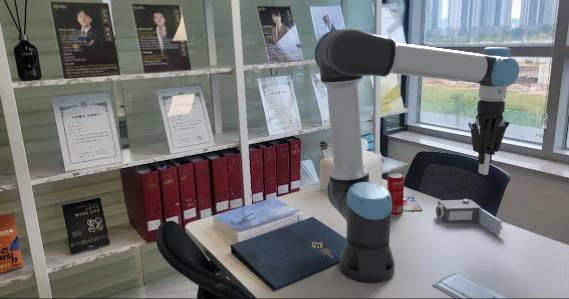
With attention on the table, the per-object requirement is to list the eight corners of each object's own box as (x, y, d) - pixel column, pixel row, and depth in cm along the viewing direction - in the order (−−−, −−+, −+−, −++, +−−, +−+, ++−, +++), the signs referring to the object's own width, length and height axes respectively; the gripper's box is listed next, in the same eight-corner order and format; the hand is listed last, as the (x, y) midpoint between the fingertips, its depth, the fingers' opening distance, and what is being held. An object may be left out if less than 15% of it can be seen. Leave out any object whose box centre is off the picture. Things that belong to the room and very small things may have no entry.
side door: (501, 235, 138) (503, 220, 136) (497, 235, 138) (499, 221, 136) (480, 221, 148) (482, 208, 147) (477, 221, 148) (478, 208, 146)
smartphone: (402, 210, 158) (393, 196, 173) (402, 212, 158) (393, 197, 173) (423, 210, 158) (412, 195, 173) (423, 212, 158) (412, 197, 173)
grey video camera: (441, 223, 147) (443, 206, 146) (432, 214, 155) (434, 198, 153) (479, 222, 148) (481, 205, 146) (469, 213, 155) (471, 197, 154)
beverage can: (405, 212, 158) (407, 173, 154) (399, 218, 152) (401, 178, 148) (389, 208, 161) (391, 170, 157) (383, 214, 155) (385, 175, 151)
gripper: (480, 102, 125) (472, 178, 131) (519, 100, 128) (509, 175, 134) (465, 98, 132) (457, 171, 138) (502, 97, 135) (493, 168, 141)
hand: (483, 173), depth 136 cm, fingers closed
